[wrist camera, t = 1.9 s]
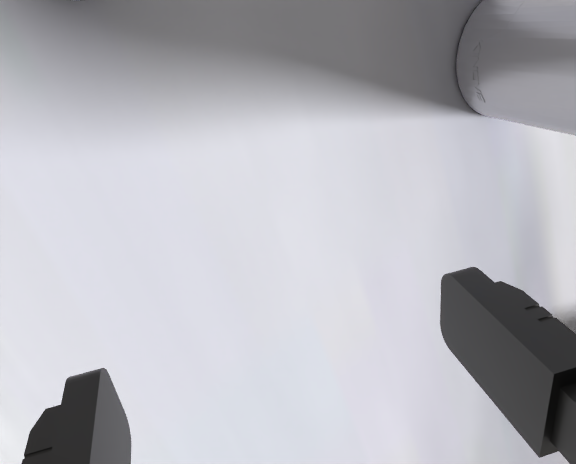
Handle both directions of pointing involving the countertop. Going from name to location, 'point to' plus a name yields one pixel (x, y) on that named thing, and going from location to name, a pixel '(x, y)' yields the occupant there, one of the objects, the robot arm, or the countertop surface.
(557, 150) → the countertop surface
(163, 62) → the countertop surface
